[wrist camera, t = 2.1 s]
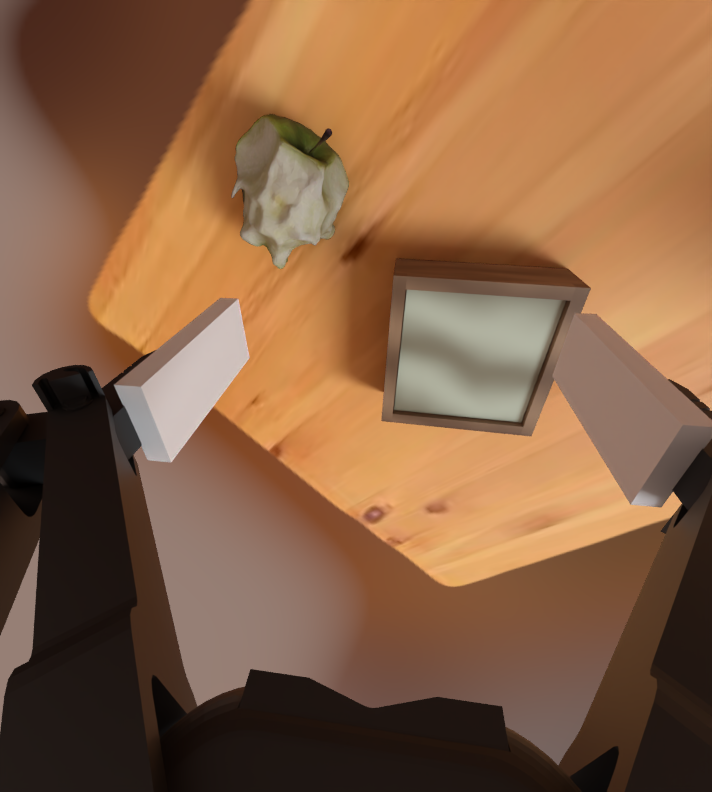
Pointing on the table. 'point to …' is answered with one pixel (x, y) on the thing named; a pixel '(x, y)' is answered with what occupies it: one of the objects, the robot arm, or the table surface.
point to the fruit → (287, 186)
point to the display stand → (476, 343)
